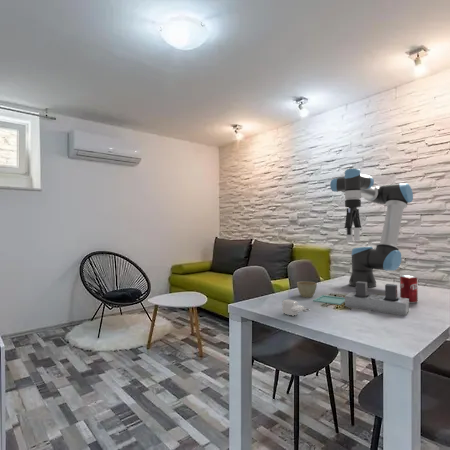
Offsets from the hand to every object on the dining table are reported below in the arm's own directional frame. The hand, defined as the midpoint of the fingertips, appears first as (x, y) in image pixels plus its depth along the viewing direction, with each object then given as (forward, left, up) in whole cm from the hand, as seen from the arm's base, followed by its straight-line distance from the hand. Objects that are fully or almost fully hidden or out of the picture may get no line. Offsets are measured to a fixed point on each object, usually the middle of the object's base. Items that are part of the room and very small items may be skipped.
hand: (353, 240), depth 162 cm
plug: (+18, +8, -28) cm, 34 cm away
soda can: (-4, +24, -29) cm, 38 cm away
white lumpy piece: (+48, -11, -29) cm, 57 cm away
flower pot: (+13, -20, -29) cm, 37 cm away
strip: (+13, +14, -29) cm, 34 cm away
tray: (+15, -7, -29) cm, 33 cm away
